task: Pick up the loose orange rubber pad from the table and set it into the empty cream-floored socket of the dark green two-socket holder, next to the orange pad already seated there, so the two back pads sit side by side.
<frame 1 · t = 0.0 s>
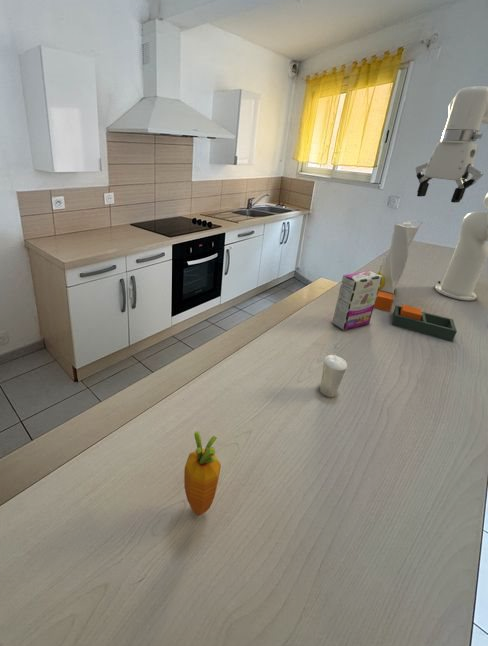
hand: (437, 199, 97), 37 cm above the worktop, tool pointing down, fingers open, 9 cm apart
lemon: (373, 292, 122), on the worktop
milkshake: (327, 391, 73), on the worktop
skyscraper: (385, 290, 125), on the worktop
candy bar box: (349, 324, 100), on the worktop
carrot: (198, 514, 48), on the worktop
seated pad: (407, 322, 101), resting on pad holder
pad holder: (420, 326, 100), on the worktop
loose pad: (381, 306, 111), on the worktop
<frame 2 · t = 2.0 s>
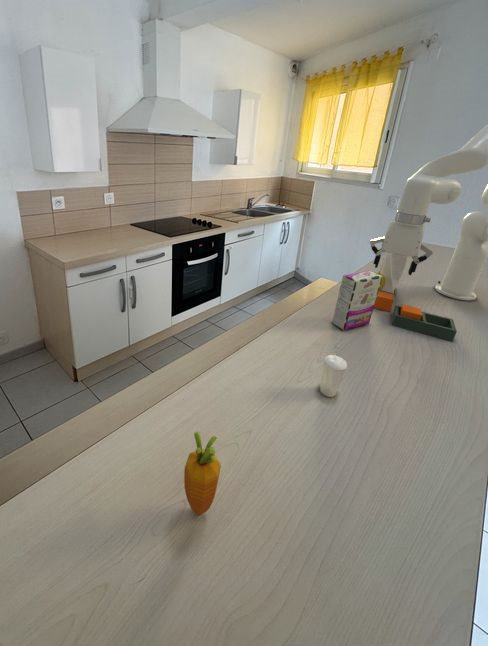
hand: (392, 270, 106), 14 cm above the worktop, tool pointing down, fingers open, 9 cm apart
nothing on the worktop moved.
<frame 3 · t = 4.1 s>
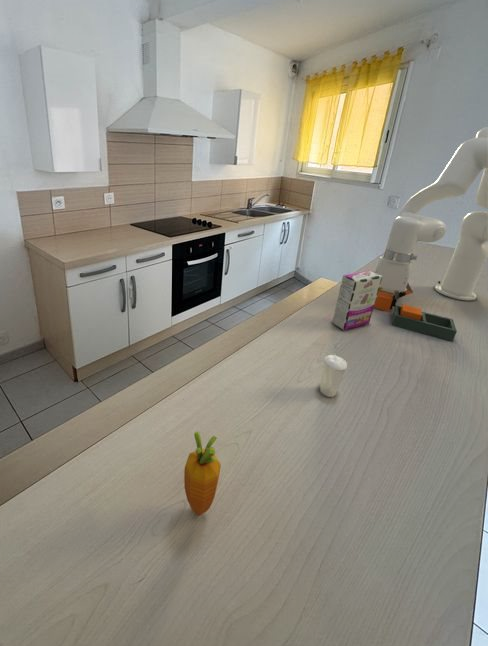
hand: (381, 304, 111), 1 cm above the worktop, tool pointing down, fingers closed on loose pad, 5 cm apart
skyscraper: (385, 290, 125), on the worktop, touching arm
loose pad: (380, 306, 111), on the worktop, touching gripper
everything else where it was.
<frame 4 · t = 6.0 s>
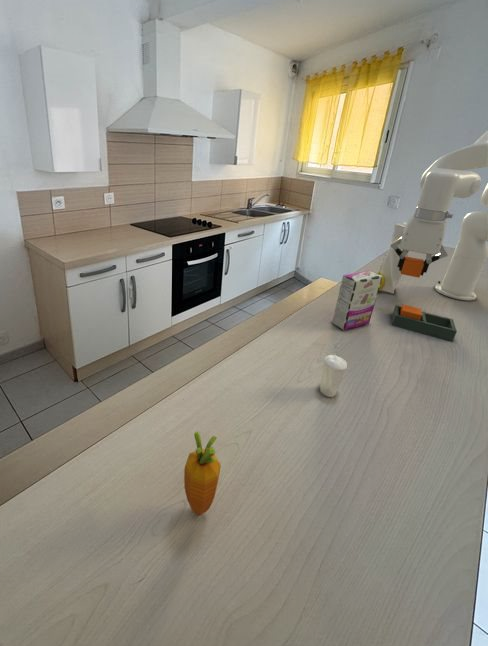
hand: (410, 271, 101), 15 cm above the worktop, tool pointing down, fingers closed on loose pad, 5 cm apart
skyscraper: (385, 290, 125), on the worktop
loose pad: (409, 273, 102), point 14 cm above the worktop, touching gripper
everything else where it was.
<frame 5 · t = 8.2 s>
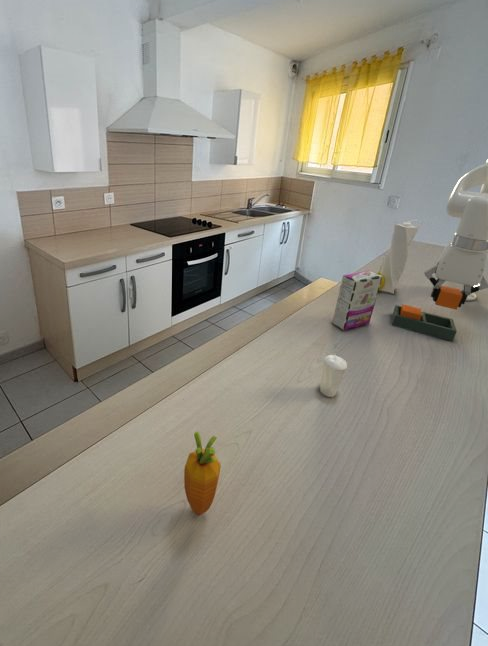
hand: (446, 301, 94), 10 cm above the worktop, tool pointing down, fingers closed on loose pad, 5 cm apart
loose pad: (444, 303, 95), point 9 cm above the worktop, touching gripper
everything else where it was.
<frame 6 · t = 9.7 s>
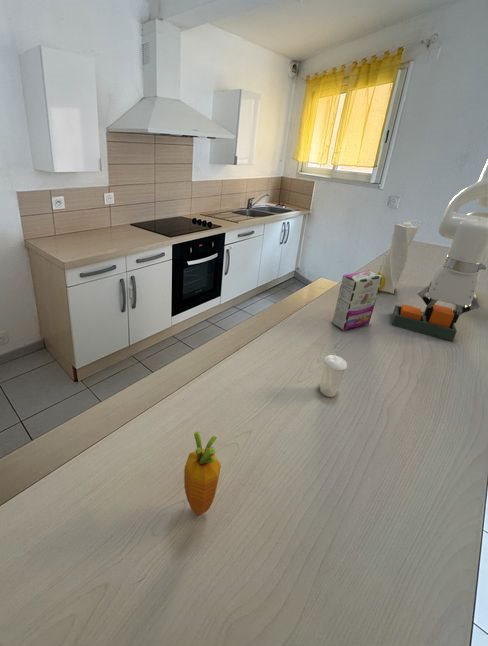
hand: (438, 320, 97), 4 cm above the worktop, tool pointing down, fingers closed on loose pad, 5 cm apart
loose pad: (437, 322, 97), point 3 cm above the worktop, touching gripper
everything else where it was.
when the fingers open (4 cm above the worktop, at t = 12.3 s): loose pad drops 2 cm, resting on pad holder.
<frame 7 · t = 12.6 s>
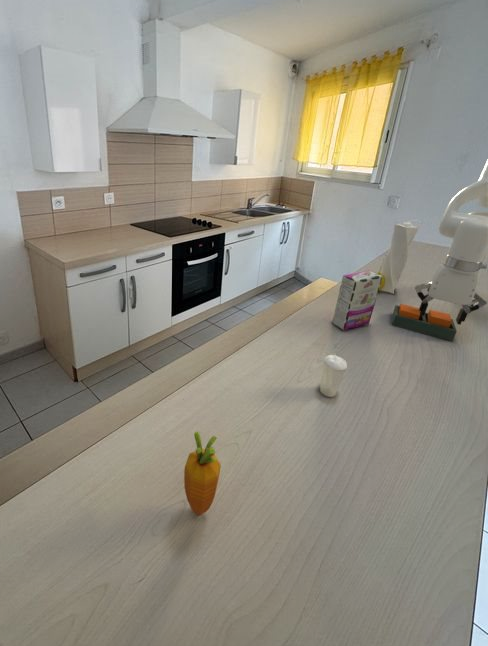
hand: (439, 317, 96), 5 cm above the worktop, tool pointing down, fingers open, 8 cm apart
loose pad: (435, 328, 98), point 1 cm above the worktop, touching pad holder
everything else where it was.
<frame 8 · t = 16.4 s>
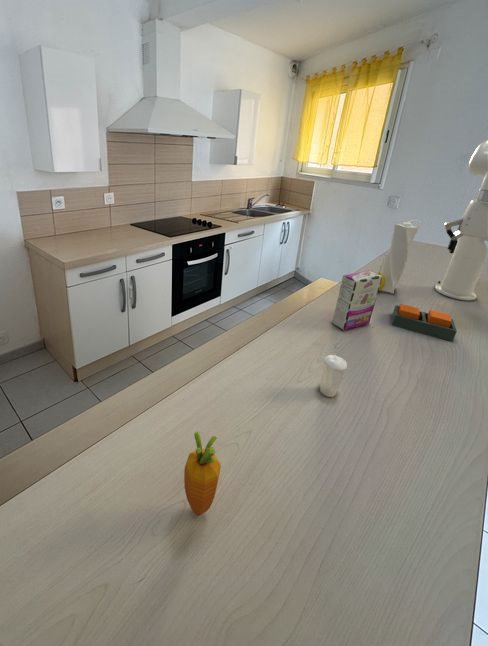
hand: (470, 255, 96), 22 cm above the worktop, tool pointing down, fingers open, 9 cm apart
nothing on the worktop moved.
at the end: loose pad 0.5 cm from the target spot in the pad holder, point 0.7 cm above the pad holder's base; loose pad tilted 0°; seated pad moved 0.6 cm from its start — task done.
